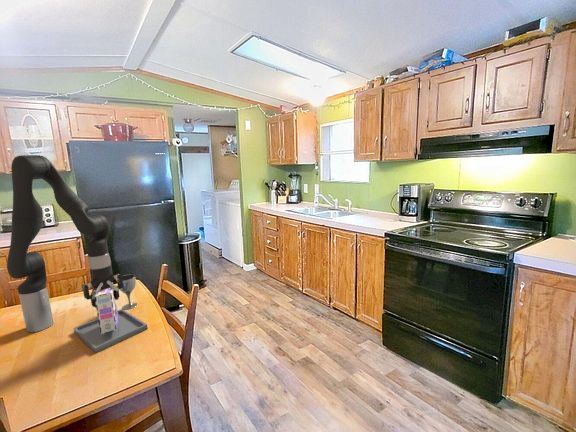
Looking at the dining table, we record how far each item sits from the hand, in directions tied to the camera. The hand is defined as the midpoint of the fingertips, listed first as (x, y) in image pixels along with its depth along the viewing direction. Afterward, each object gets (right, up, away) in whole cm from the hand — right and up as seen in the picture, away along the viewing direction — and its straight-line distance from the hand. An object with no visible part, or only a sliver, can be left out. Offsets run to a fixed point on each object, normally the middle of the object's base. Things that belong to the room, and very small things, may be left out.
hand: (106, 302), depth 122 cm
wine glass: (-3, -9, +24) cm, 25 cm away
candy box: (+1, -10, +2) cm, 10 cm away
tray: (+1, -12, +2) cm, 13 cm away
